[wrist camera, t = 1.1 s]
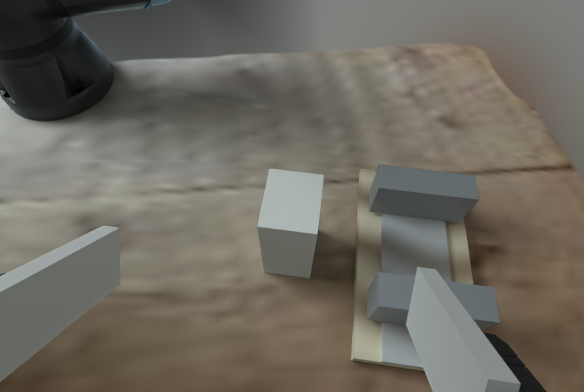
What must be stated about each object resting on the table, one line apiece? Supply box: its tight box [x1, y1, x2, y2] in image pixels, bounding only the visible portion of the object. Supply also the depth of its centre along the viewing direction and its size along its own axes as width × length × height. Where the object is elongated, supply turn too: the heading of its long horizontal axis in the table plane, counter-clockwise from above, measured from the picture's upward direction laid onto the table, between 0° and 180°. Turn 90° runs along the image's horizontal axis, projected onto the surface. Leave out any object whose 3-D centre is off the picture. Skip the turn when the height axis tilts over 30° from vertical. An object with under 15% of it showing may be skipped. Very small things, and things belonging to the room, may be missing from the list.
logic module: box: [257, 169, 324, 278], centre depth 35 cm, size 6×5×11 cm
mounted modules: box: [367, 165, 500, 331], centre depth 36 cm, size 15×10×5 cm, turn 172°
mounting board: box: [351, 168, 473, 371], centre depth 39 cm, size 22×12×2 cm, turn 172°
